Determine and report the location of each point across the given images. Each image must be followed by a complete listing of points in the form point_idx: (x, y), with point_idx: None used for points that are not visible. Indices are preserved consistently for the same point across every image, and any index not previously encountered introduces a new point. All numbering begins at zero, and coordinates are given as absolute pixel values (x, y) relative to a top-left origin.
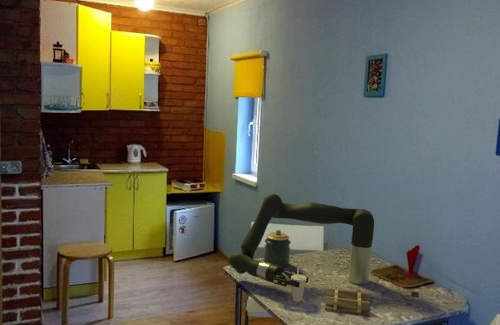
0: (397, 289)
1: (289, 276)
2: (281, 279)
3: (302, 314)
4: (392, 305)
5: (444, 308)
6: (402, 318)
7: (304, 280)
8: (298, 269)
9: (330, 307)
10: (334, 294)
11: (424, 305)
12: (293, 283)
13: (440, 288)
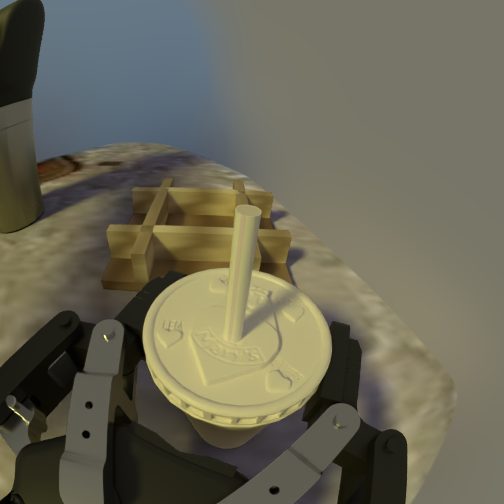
0: (84, 175)
1: (182, 453)
2: (396, 496)
3: (386, 359)
4: (174, 180)
5: (170, 150)
6: (240, 177)
7: (276, 284)
8: (253, 248)
9: (277, 270)
10: (154, 251)
11: (162, 159)
12: (356, 375)
13: (89, 151)
